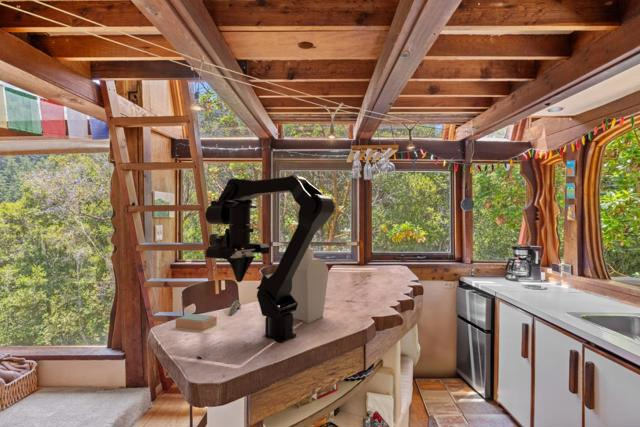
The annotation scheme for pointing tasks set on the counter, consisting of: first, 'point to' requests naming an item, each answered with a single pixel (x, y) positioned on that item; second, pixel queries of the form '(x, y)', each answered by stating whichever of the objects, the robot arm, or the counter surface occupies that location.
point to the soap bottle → (309, 287)
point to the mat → (209, 330)
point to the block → (196, 322)
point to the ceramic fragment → (232, 308)
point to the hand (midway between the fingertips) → (239, 282)
